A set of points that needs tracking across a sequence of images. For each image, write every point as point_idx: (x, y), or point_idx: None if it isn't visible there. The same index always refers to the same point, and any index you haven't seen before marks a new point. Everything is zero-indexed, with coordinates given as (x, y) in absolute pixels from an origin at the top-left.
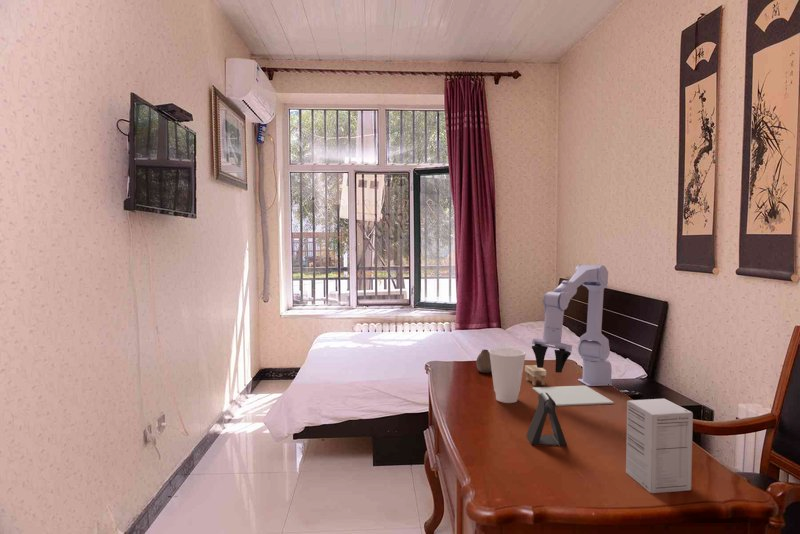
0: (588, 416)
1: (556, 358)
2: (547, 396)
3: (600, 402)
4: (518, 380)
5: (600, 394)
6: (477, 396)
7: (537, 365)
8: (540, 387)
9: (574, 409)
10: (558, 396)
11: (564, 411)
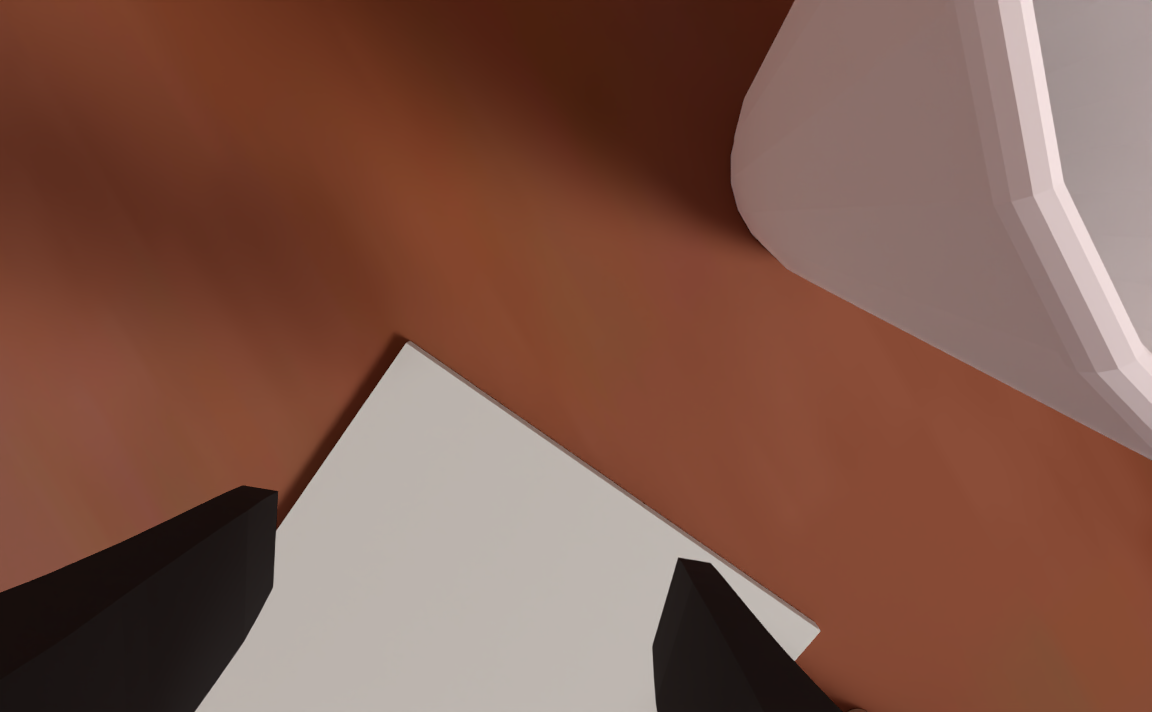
0: (71, 318)
1: (6, 642)
2: (578, 499)
3: None
4: (766, 89)
5: None
6: None
7: (709, 575)
8: None
9: (248, 393)
10: (507, 571)
11: (275, 278)
